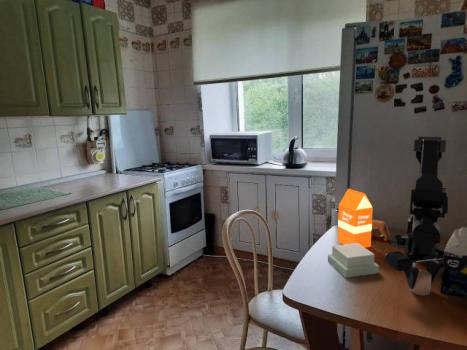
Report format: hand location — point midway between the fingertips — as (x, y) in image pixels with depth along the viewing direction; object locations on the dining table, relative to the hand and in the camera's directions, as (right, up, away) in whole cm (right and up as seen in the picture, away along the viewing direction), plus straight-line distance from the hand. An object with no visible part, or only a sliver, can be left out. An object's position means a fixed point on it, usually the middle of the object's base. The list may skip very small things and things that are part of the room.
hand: (419, 287), depth 91 cm
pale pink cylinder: (0, -1, 0) cm, 1 cm away
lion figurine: (+3, +7, +39) cm, 40 cm away
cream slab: (-13, +4, +15) cm, 20 cm away
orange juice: (-6, +5, +32) cm, 33 cm away
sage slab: (-13, +1, +15) cm, 20 cm away
